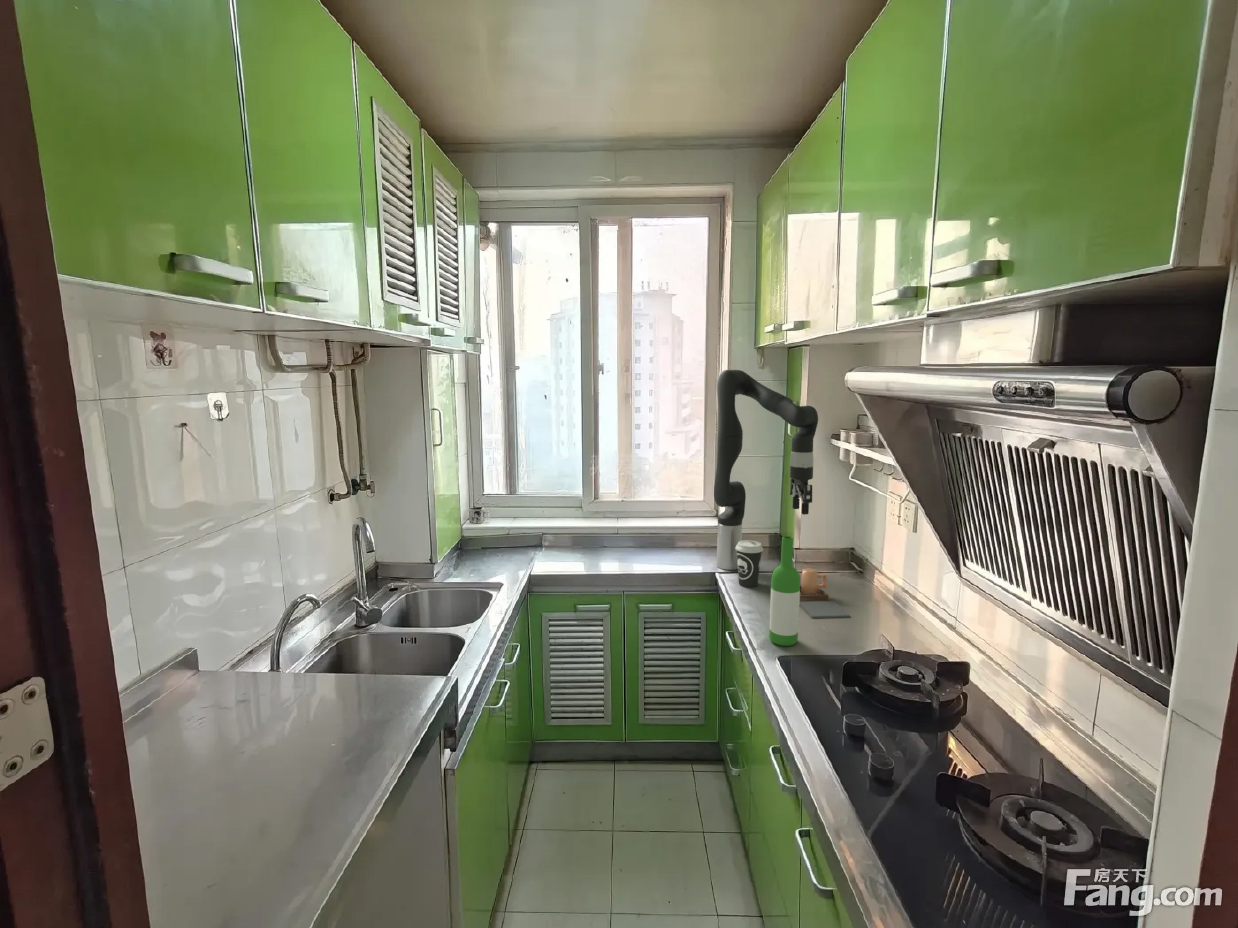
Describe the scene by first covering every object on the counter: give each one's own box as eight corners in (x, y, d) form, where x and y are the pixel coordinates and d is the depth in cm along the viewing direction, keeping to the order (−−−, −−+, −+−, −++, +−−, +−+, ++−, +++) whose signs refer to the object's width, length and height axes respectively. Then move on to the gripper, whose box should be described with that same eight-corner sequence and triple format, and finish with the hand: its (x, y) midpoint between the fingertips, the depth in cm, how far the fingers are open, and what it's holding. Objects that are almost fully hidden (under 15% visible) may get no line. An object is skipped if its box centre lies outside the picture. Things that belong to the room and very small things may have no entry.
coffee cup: (762, 589, 210) (763, 547, 208) (734, 587, 212) (735, 546, 210) (761, 580, 219) (762, 540, 217) (734, 578, 221) (735, 538, 219)
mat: (797, 603, 198) (797, 601, 197) (833, 602, 198) (833, 600, 198) (811, 618, 186) (811, 616, 186) (849, 617, 186) (849, 615, 186)
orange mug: (804, 599, 201) (805, 573, 200) (798, 593, 206) (799, 568, 205) (828, 598, 202) (829, 572, 200) (822, 593, 207) (823, 567, 205)
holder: (789, 591, 208) (789, 585, 208) (816, 590, 209) (817, 585, 209) (799, 601, 199) (800, 596, 198) (828, 601, 199) (828, 595, 199)
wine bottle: (792, 634, 174) (797, 533, 169) (801, 647, 166) (806, 541, 162) (765, 635, 174) (769, 533, 169) (773, 647, 166) (777, 541, 161)
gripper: (783, 462, 213) (782, 507, 215) (798, 468, 199) (797, 516, 201) (804, 461, 214) (803, 507, 216) (820, 467, 199) (819, 515, 202)
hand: (800, 511), depth 208 cm, fingers open, 8 cm apart
